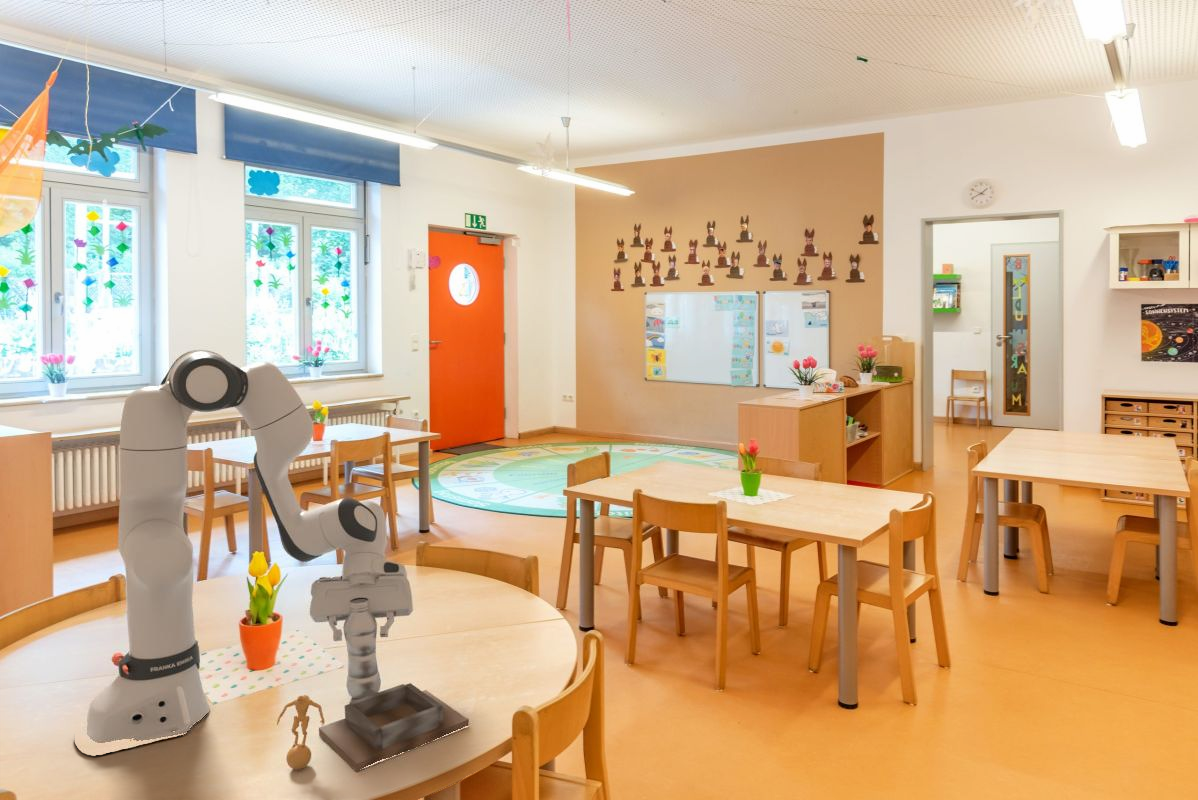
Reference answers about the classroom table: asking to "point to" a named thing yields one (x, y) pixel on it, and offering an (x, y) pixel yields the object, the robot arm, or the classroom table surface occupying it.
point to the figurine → (300, 752)
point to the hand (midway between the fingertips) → (360, 638)
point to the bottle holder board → (390, 725)
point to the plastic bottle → (361, 650)
